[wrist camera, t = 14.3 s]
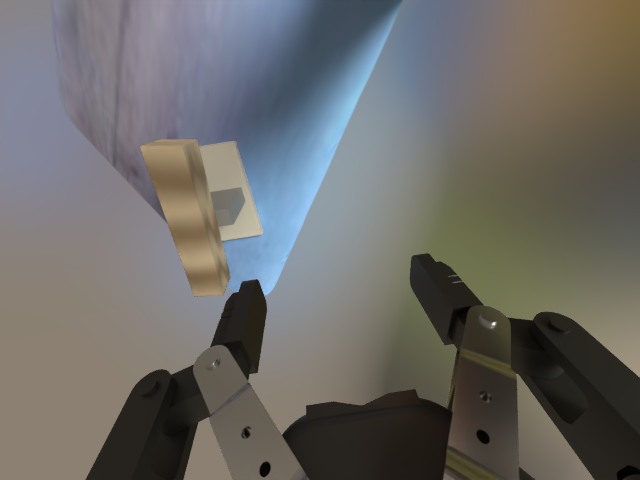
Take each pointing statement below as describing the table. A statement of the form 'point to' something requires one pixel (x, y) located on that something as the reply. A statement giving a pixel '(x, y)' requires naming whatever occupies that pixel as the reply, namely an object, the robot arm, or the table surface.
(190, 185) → the rectangular block
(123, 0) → the table surface
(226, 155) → the stand
